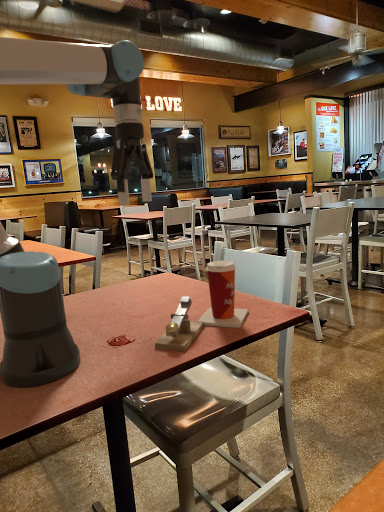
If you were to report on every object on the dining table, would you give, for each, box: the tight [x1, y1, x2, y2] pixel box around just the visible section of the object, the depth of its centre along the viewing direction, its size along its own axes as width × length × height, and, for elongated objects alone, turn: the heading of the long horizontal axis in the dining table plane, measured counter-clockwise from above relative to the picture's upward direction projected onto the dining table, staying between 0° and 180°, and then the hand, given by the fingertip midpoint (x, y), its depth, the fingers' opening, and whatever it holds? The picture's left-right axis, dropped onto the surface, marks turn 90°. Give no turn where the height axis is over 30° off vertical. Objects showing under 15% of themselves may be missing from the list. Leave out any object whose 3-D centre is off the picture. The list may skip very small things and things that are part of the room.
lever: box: [165, 295, 193, 337], centre depth 84 cm, size 12×4×2 cm, turn 160°
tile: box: [197, 306, 249, 329], centre depth 95 cm, size 11×11×1 cm
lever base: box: [154, 319, 205, 352], centre depth 85 cm, size 14×7×4 cm, turn 161°
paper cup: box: [205, 260, 237, 319], centre depth 94 cm, size 8×8×14 cm
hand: (136, 203), depth 102 cm, fingers open, 13 cm apart
